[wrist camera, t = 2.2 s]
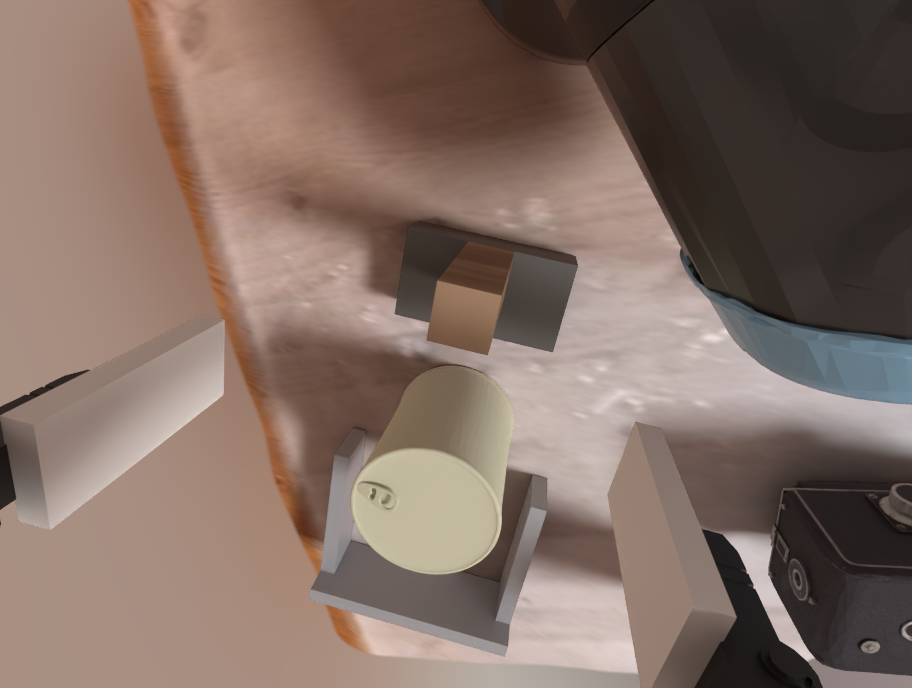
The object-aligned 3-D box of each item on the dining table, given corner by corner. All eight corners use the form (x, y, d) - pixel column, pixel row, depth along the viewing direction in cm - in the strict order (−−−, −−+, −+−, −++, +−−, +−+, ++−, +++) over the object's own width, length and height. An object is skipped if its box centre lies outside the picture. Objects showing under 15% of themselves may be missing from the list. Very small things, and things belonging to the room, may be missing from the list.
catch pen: (352, 427, 43) (323, 469, 37) (547, 478, 41) (546, 530, 36) (337, 546, 48) (309, 599, 42) (509, 595, 46) (504, 656, 41)
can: (422, 346, 39) (372, 426, 28) (534, 394, 39) (528, 494, 28) (384, 439, 43) (327, 543, 32) (486, 484, 43) (465, 603, 32)
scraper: (418, 220, 36) (353, 261, 24) (575, 256, 35) (589, 316, 23) (405, 301, 38) (340, 375, 26) (552, 336, 37) (554, 429, 25)
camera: (747, 551, 42) (977, 575, 38) (792, 685, 32) (1112, 738, 28) (761, 438, 38) (1018, 451, 34) (817, 549, 28) (1192, 587, 24)
